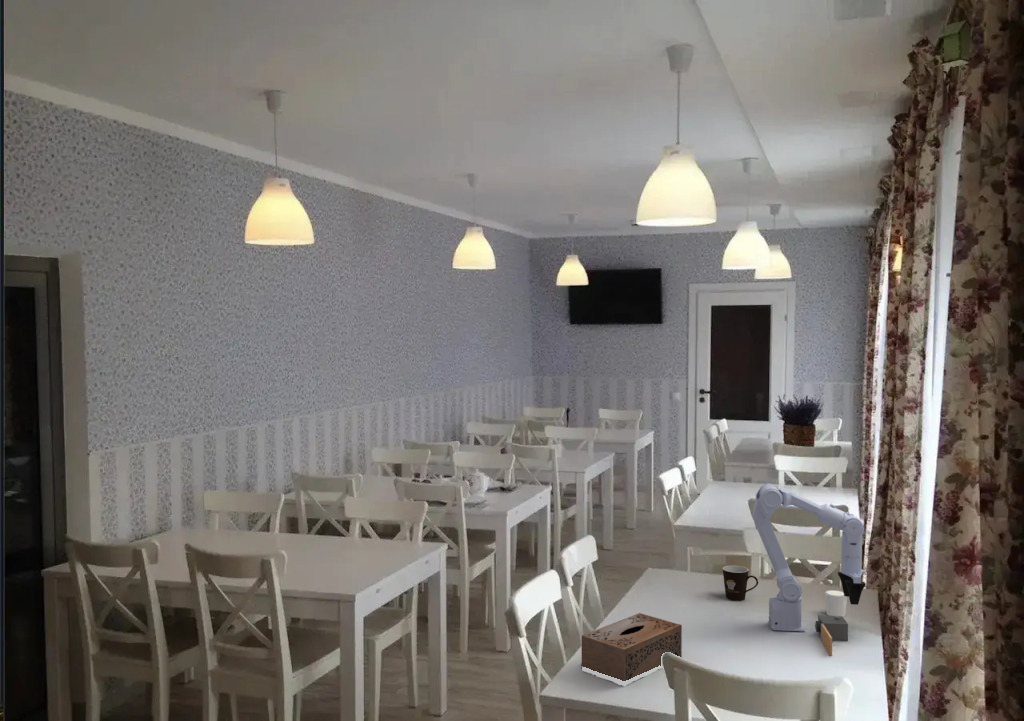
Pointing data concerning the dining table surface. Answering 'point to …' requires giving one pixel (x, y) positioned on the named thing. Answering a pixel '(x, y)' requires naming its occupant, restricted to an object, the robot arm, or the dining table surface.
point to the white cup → (835, 603)
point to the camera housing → (833, 627)
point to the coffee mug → (736, 582)
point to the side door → (826, 639)
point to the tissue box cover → (630, 646)
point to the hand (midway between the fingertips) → (851, 600)
